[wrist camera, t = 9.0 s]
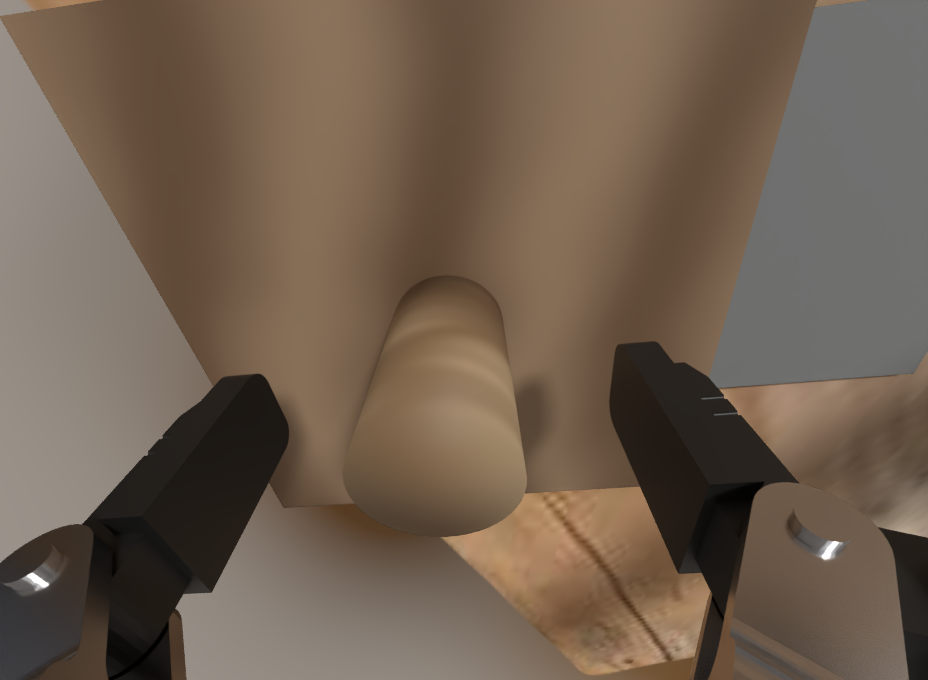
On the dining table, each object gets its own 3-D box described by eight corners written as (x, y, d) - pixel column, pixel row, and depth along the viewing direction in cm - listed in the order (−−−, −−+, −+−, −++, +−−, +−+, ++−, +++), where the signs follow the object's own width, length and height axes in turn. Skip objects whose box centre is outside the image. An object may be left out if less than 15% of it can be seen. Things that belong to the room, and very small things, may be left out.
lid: (799, -88, 8) (1737, -609, 2) (665, 459, 16) (771, 656, 10) (53, 25, 9) (-711, -104, 3) (294, 483, 17) (209, 673, 12)
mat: (1155, -38, 14) (1177, -42, 13) (905, 368, 23) (913, 373, 23) (637, 33, 15) (642, 31, 15) (601, 391, 24) (603, 396, 24)
